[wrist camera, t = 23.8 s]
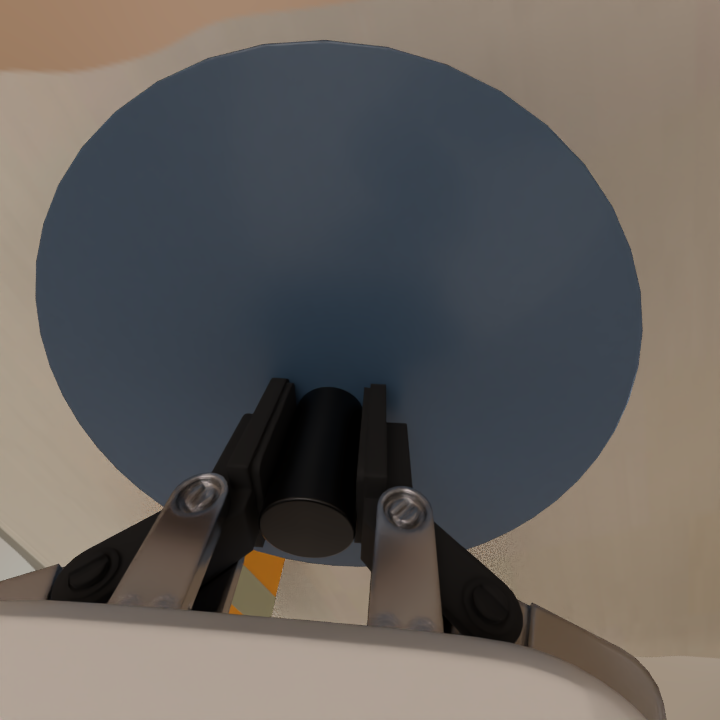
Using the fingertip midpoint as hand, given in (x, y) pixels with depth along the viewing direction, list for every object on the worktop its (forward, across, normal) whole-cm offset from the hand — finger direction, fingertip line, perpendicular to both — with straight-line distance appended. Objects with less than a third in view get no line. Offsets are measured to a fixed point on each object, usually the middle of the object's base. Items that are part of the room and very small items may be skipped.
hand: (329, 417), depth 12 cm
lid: (+1, 0, 0) cm, 1 cm away
